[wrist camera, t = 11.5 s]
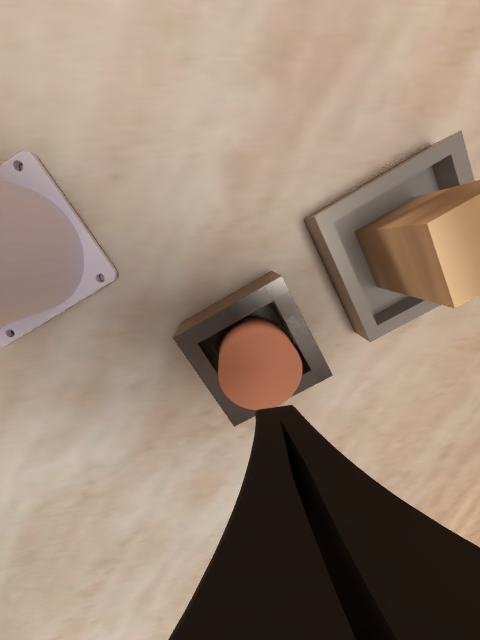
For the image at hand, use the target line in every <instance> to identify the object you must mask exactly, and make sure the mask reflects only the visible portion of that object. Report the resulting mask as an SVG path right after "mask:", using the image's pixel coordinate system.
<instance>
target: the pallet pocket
mask: <svg viewBox="0 0 480 640" xmlns="http://www.w3.org/2000/svg"><path fill="white" fill-rule="evenodd" d="M471 182H475V181H474V177H473V174H472V170H471V166H470V162H469V158H468V154H467V150H466V147H465V143H464V139H463V135H462V131H459V132H457V133H455V134H453V135H451V136H449V137H447V138H445V139H443V140H441V141H439V142H437V143H435V144H433V145H431V146H429V147H427V148H426V149H424V150H422V151H421V152H419V153H417V154H415V155H414V156H412V157H410V158H409V159H407V160H405V161H403V162H402V163H400V164H398V165H397V166H395V167H393V168H391V169H390V170H388V171H386V172H385V173H383V174H381V175H380V176H378V177H376V178H374V179H373V180H371V181H369V182H368V183H366V184H364V185H362V186H361V187H359V188H357V189H356V190H354V191H352V192H351V193H349V194H347V195H345V196H344V197H342V198H340V199H339V200H337V201H335V202H333V203H332V204H330V205H328V206H327V207H325V208H323V209H322V210H320V211H318V212H316V213H315V214H313V215H311V216H310V217H308V218H306V219H304V221H305V224H306V226H307V228H308V230H309V232H310V235H311V237H312V239H313V241H314V243H315V245H316V248H317V250H318V252H319V254H320V256H321V259H322V261H323V263H324V265H325V267H326V269H327V272H328V274H329V276H330V278H331V280H332V283H333V285H334V287H335V289H336V291H337V293H338V296H339V298H340V300H341V302H342V304H343V307H344V309H345V311H346V313H347V315H348V317H349V320H350V322H351V324H352V326H353V328H354V331H355V332H356V333H357V334H359V335H360V336H362V337H363V338H365V339H366V340H368V341H369V342H371V341H373V340H375V339H377V338H379V337H381V336H383V335H385V334H386V333H388V332H390V331H392V330H394V329H396V328H398V327H400V326H402V325H404V324H405V323H407V322H409V321H411V320H413V319H415V318H417V317H419V316H421V315H423V314H424V313H426V312H428V311H430V310H432V309H434V308H436V307H438V306H440V305H441V304H437V303H434V302H430V301H426V300H423V299H419V298H415V297H412V296H408V295H404V294H400V293H397V292H393V291H389V290H386V289H382V288H378V287H377V285H376V283H375V280H374V278H373V275H372V273H371V271H370V268H369V266H368V263H367V261H366V258H365V256H364V254H363V251H362V249H361V246H360V244H359V242H358V239H357V237H356V234H355V231H356V230H358V229H360V228H361V227H363V226H365V225H367V224H368V223H370V222H372V221H374V220H375V219H377V218H379V217H381V216H382V215H384V214H386V213H387V212H389V211H391V210H393V209H394V208H396V207H398V206H400V205H401V204H403V203H405V202H407V201H408V200H410V199H412V198H413V197H416V196H420V195H424V194H428V193H432V192H436V191H440V190H443V189H447V188H451V187H455V186H459V185H463V184H467V183H471Z"/></svg>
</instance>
